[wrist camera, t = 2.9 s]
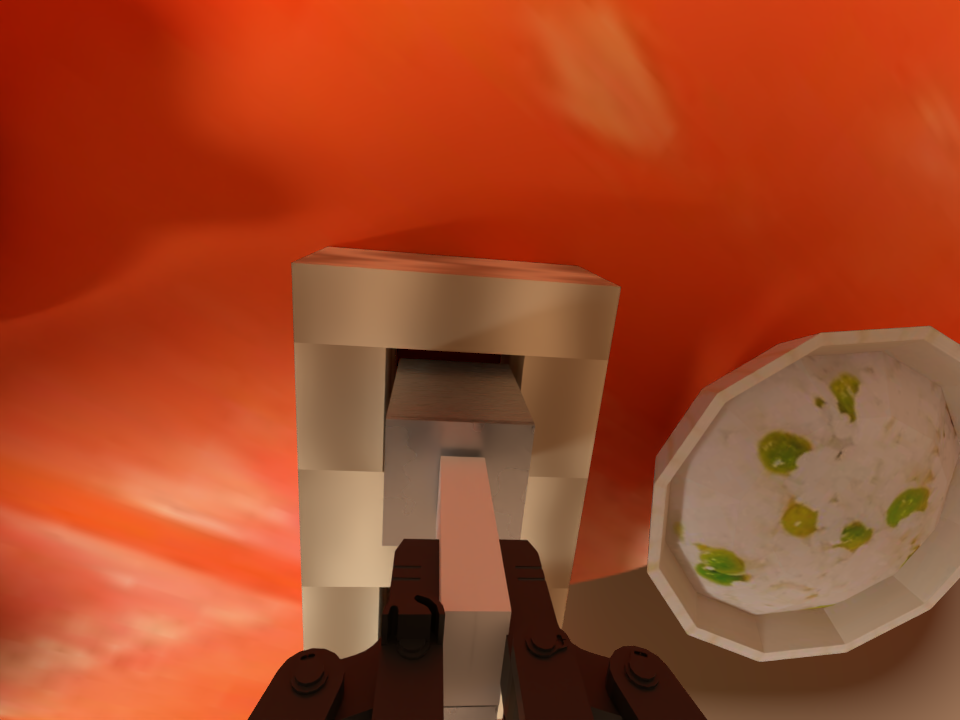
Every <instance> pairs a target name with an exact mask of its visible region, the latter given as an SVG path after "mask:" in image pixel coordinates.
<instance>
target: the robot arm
mask: <svg viewBox="0 0 960 720" xmlns="http://www.w3.org/2000/svg"><path fill="white" fill-rule="evenodd" d="M500 694H501V695H502V703H503V718H502V720H707V719H706V718H705V716H704V715H703V713H702V712H701V711H700V709H699V708H698V707H697V705H696V704H695V703H694V701H693V700H692V699H691V697H690V696H689V695H688V693H687V692H686V691H685V689H684V688H683V687H682V685H681V684H680V682H679V681H678V680H677V679H676V677H675V676H674V674H673V673H672V672H671V670H670V669H669V668H668V666H667V665H666V664H665V663H664V662H663V661H662V660H661V659H660V658H659V657H658V656H656V655H655V654H653V653H651V652H650V651H648V650H646V649H643V648H640V647H636V646H623V647H621V648H619V649H617V650H615V651H614V653H613V655H612V656H611V658H607V657H604V656H600V655H597V654H594V653H590V652H588V651H585V650H583V649H580V648H579V647H577V646H576V645H574V644H572V643H571V641H570V639H569V638H568V636H567V634H566V633H565V632H564V631H563V630H562V629H560V627H559V625H558V622H557V619H556V615H555V612H554V608H553V604H552V601H551V597H550V594H549V590H548V586H547V583H546V581H545V576H544V572H543V569H542V565H541V561H540V558H539V554H538V552H537V550H536V549H535V548H534V547H533V546H532V545H531V543H530V542H529V541H528V540H508V539H499V537H498V531H497V525H496V520H495V514H494V508H493V502H492V497H491V491H490V485H489V479H488V473H487V468H486V462H485V458H483V457H455V456H441V458H440V472H439V487H438V502H437V517H436V539H403V541H402V542H401V543H400V545H399V546H398V547H397V549H396V550H395V554H394V562H393V570H392V578H391V586H390V594H389V601H388V603H387V604H386V605H385V608H384V610H383V613H382V631H381V637H380V638H379V640H378V641H377V642H376V643H375V644H374V645H373V646H371V647H370V648H368V649H367V650H365V651H363V652H361V653H358V654H356V655H353V656H349V657H346V658H343V659H340V658H339V657H338V656H337V655H336V653H334V652H332V651H329V650H327V649H324V648H311V649H308V650H304V651H301V652H298V653H297V654H295V655H294V656H292V657H290V658H289V659H287V660H286V662H285V663H284V664H283V665H282V666H281V667H280V669H279V670H278V671H277V673H276V675H275V676H274V678H273V679H272V681H271V683H270V684H269V686H268V688H267V689H266V691H265V692H264V694H263V696H262V697H261V699H260V701H259V702H258V704H257V705H256V707H255V709H254V710H253V712H252V714H251V715H250V717H249V718H248V720H444V706H478V705H499V702H500Z"/></svg>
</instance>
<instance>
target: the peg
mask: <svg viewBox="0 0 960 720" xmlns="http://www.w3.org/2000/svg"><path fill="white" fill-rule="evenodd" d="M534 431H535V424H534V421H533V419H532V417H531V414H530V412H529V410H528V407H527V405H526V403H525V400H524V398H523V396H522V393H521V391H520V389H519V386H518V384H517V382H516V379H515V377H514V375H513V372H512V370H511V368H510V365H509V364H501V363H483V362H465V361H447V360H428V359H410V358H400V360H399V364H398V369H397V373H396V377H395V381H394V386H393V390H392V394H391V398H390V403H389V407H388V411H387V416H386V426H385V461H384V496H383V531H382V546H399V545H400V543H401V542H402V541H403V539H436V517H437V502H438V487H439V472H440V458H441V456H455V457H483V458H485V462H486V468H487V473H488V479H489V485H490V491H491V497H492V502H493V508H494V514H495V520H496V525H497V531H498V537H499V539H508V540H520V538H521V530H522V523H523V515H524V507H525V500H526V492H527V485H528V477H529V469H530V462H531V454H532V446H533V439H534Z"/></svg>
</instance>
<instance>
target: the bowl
mask: <svg viewBox="0 0 960 720" xmlns="http://www.w3.org/2000/svg"><path fill="white" fill-rule="evenodd" d="M647 573H648V574H649V576H650V577H651V579H652V581H653V582H654V584H655V585H656V587H657V588H658V590H659V591H660V593H661V594H662V596H663V597H664V599H665V601H666V602H667V604H668V605H669V607H670V608H671V610H672V611H673V613H674V614H675V616H676V617H677V619H678V620H679V622H680V623H681V625H682V627H683V628H684V630H685V631H686V633H687V634H688V635H690V636H693V637H696V638H698V639H701V640H704V641H706V642H709V643H711V644H714V645H717V646H719V647H722V648H725V649H728V650H730V651H733V652H735V653H738V654H741V655H743V656H746V657H749V658H751V659H754V660H756V661H760V662H762V661H771V660H780V659H789V658H798V657H807V656H817V655H826V654H835V653H845V652H848V651H850V650H852V649H853V648H855V647H857V646H859V645H861V644H863V643H865V642H867V641H869V640H871V639H873V638H875V637H877V636H879V635H881V634H883V633H885V632H887V631H889V630H890V629H892V628H894V627H896V626H898V625H900V624H902V623H904V622H906V621H908V620H910V619H912V618H914V617H916V616H918V615H920V614H922V613H924V612H926V611H928V610H929V609H931V608H932V607H933V606H934V604H935V603H937V601H938V600H939V599H940V598H941V597H942V596H943V595H944V594H945V593H946V592H947V591H948V590H949V589H950V587H951V586H952V585H953V584H954V583H955V582H956V581H957V580H958V579H959V578H960V344H958V343H956V342H955V341H953V340H952V339H950V338H949V337H947V336H945V335H944V334H942V333H941V332H939V331H938V330H936V329H934V328H933V327H931V326H921V327H905V328H888V329H872V330H856V331H840V332H824V333H818V334H814V335H810V336H807V337H803V338H799V339H795V340H791V341H788V342H784V343H780V344H777V345H776V346H774V347H772V348H771V349H769V350H767V351H765V352H764V353H762V354H760V355H759V356H757V357H755V358H754V359H752V360H750V361H748V362H747V363H745V364H743V365H742V366H740V367H738V368H737V369H735V370H733V371H732V372H730V373H728V374H726V375H725V376H723V377H721V378H720V379H718V380H716V381H715V382H713V383H711V384H709V385H708V386H706V387H704V388H703V389H702V390H701V391H700V393H699V394H698V396H697V397H696V399H695V400H694V402H693V403H692V404H691V406H690V407H689V409H688V410H687V412H686V413H685V415H684V416H683V418H682V419H681V421H680V422H679V423H678V425H677V426H676V428H675V429H674V431H673V432H672V434H671V435H670V437H669V438H668V440H667V441H666V443H665V444H664V445H663V447H662V448H661V450H660V451H659V453H658V454H657V456H656V461H655V473H654V484H653V496H652V508H651V520H650V534H649V549H648V564H647Z"/></svg>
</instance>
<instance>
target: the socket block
mask: <svg viewBox="0 0 960 720" xmlns="http://www.w3.org/2000/svg"><path fill="white" fill-rule="evenodd" d="M291 264H292V296H293V327H294V358H295V390H296V421H297V452H298V484H299V515H300V546H301V577H302V609H303V640H304V650H308V649H311V648H324V649H327V650H329V651H332V652H334V653H336V655H337V656H338V657H339V658H340V659H343V658H346V657H349V656H353V655H356V654H358V653H361V652H363V651H365V650H367V649H368V648H370V647H371V646H373V645H374V644H375V643H376V642H377V641H378V640H379V638H380V637H381V631H382V613H383V610H384V608H385V605H386V604H387V603H388V601H389V594H390V586H391V578H392V570H393V562H394V554H395V550H396V549H397V547H398V546H382V531H383V496H384V461H385V426H386V416H387V411H388V407H389V403H390V398H391V394H392V390H393V386H394V381H395V377H396V354H397V348H400V349H417V350H435V351H453V352H470V353H488V354H501V361H500V363H501V364H509V365H510V368H511V370H512V372H513V375H514V377H515V379H516V382H517V384H518V386H519V389H520V391H521V393H522V396H523V398H524V400H525V403H526V405H527V407H528V410H529V412H530V414H531V417H532V419H533V421H534V424H535V431H534V439H533V446H532V454H531V462H530V469H529V477H528V485H527V492H526V500H525V507H524V515H523V523H522V530H521V538H520V540H528V541H529V542H530V543H531V545H532V546H533V547H534V548H535V549H536V550H537V552H538V554H539V558H540V561H541V565H542V569H543V572H544V576H545V581H546V583H547V586H548V590H549V594H550V597H551V601H552V604H553V608H554V612H555V615H556V619H557V622H558V625H559V627H560V629H562V625H563V619H564V613H565V608H566V602H567V596H568V590H569V584H570V579H571V573H572V567H573V561H574V556H575V550H576V544H577V538H578V533H579V527H580V521H581V515H582V509H583V504H584V498H585V492H586V486H587V481H588V475H589V469H590V463H591V457H592V452H593V446H594V440H595V434H596V429H597V423H598V417H599V411H600V406H601V400H602V394H603V388H604V382H605V377H606V371H607V365H608V359H609V354H610V348H611V342H612V336H613V331H614V325H615V319H616V313H617V307H618V302H619V296H620V290H621V287H620V286H618V285H616V284H614V283H612V282H610V281H608V280H606V279H604V278H602V277H600V276H598V275H596V274H593V273H591V272H589V271H587V270H585V269H583V268H581V267H579V266H572V265H559V264H546V263H533V262H520V261H507V260H494V259H481V258H468V257H456V256H443V255H430V254H417V253H404V252H391V251H378V250H365V249H352V248H339V247H326V248H323V249H321V250H319V251H317V252H314V253H312V254H310V255H308V256H305V257H303V258H301V259H299V260H296V261H294V262H292V263H291ZM502 718H503V703H502V695H501V694H500V702H499V705H498V713H497V719H502Z"/></svg>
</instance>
